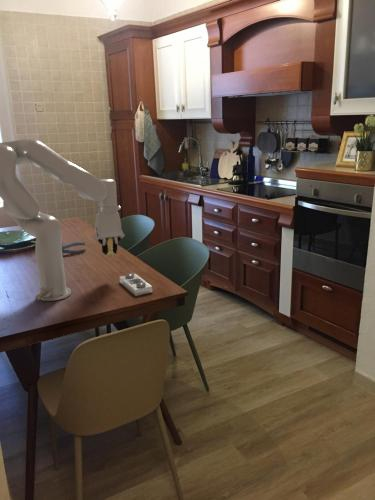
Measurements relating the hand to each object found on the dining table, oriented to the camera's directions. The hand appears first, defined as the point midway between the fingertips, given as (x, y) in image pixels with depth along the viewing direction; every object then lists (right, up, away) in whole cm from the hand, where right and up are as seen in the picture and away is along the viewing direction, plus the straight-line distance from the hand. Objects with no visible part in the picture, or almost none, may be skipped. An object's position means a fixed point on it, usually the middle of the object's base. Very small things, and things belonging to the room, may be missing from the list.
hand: (109, 252), depth 183 cm
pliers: (-29, -2, +37) cm, 47 cm away
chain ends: (+12, -14, -8) cm, 20 cm away
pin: (0, -1, 0) cm, 1 cm away
